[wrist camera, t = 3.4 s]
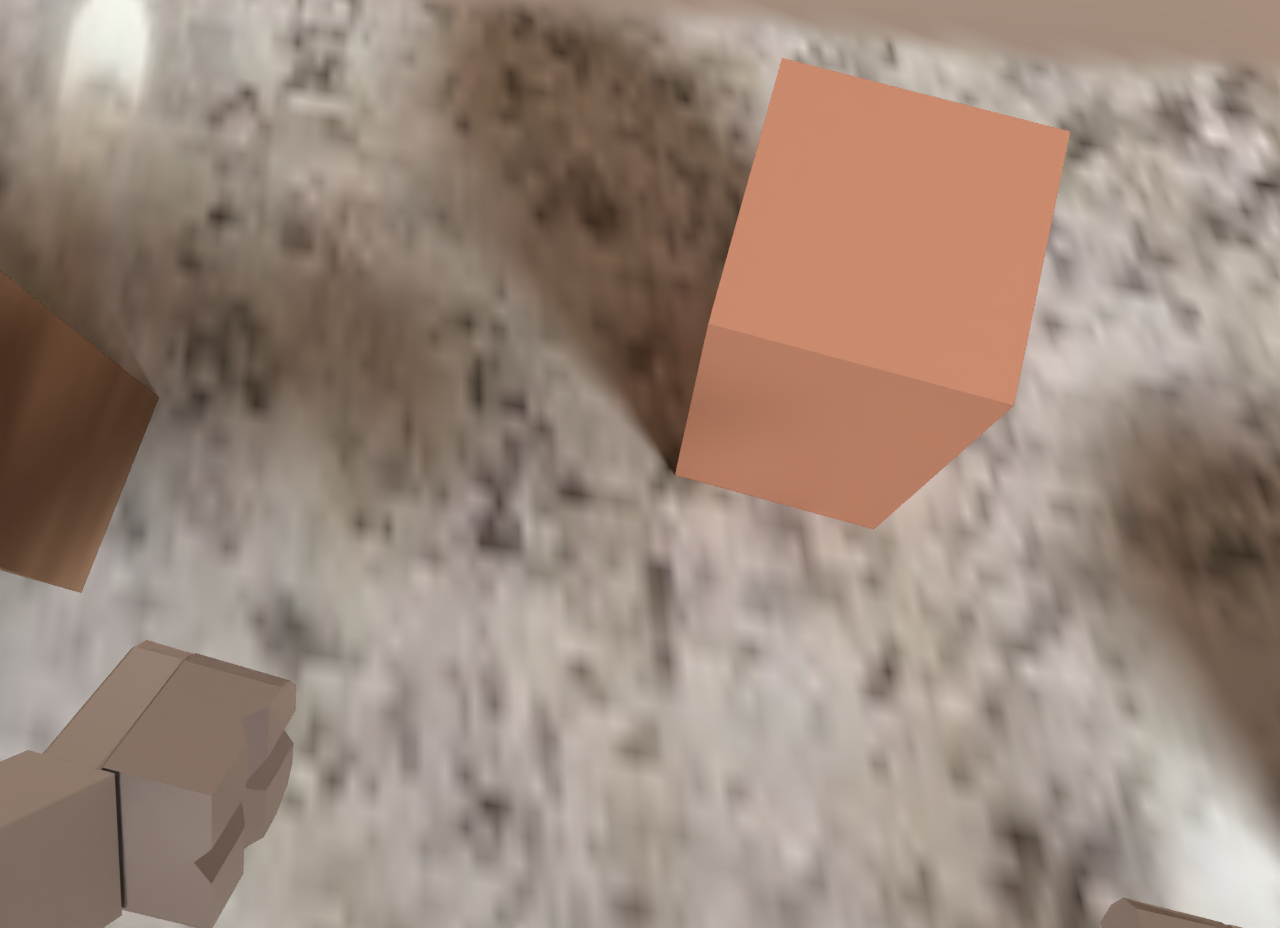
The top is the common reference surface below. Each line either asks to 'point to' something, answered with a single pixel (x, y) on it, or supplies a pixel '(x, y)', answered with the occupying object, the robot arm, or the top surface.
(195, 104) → the top surface
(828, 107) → the terracotta block
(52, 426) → the walnut block
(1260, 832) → the top surface
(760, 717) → the top surface
